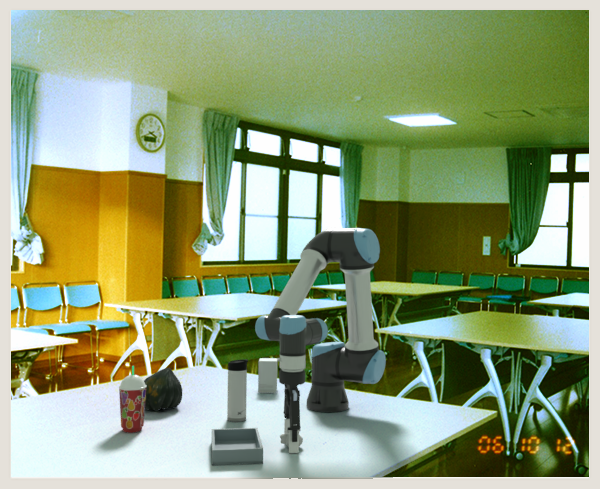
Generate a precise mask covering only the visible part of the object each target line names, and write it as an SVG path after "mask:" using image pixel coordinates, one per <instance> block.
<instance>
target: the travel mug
mask: <svg viewBox="0 0 600 489" xmlns="http://www.w3.org/2000/svg"><path fill="white" fill-rule="evenodd" d="M248 363H249V359H246V358H245V359H235V360H231V361H228V363H227V364H228V366H227V404H226V405H227V411H226V412H227V416H226V418H227V420H228V422H232V423H233V422H234V423H241V422H245V421H246V420H247V390H248V389H247V388H248V386H247V384H248V383H247V381H248V379H247V378H248V377H247V375H248V372H247V371H248V369H247V367H248V365H247V364H248Z"/></svg>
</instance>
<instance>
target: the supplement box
mask: <svg viewBox="0 0 600 489" xmlns="http://www.w3.org/2000/svg"><path fill="white" fill-rule="evenodd" d="M277 359H278V357H277V358H275V357H272V358H271V357H270V358H269V357H262V358H261V357H260V358H259V359H258V374H257V375H258V379H257V380H258V381H257V384H258V385H257V387H258V388H257V393H258V394H277V390H278V361H277Z"/></svg>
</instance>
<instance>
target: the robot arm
mask: <svg viewBox="0 0 600 489" xmlns="http://www.w3.org/2000/svg"><path fill="white" fill-rule="evenodd" d="M380 247H381V246H380V242H379V239H378V237H377V235H376V233H375V232H374V231H373V230H372V229H370V228H362V227H349V228H348V227H347V228H346V227H345V228H343V227H342V228H336V227H334V228H332V227H331V228H327V229H324V230H323V231H321V232H319V233H317V234H316V235H314V237H313V238H311V240H309V241H308V243H306V245H305V246H304V248H303V249H302V251H301V253H300V261H299V262H298V264H297V266H296V268H295V269H294V271H293V273H292V274H291V276H290V278H289V280H288V281H287V283H286V285H285V287H284V288H283V290H282V291H281V293H280V295H279V297H278V299H277V301H276V302H275V304H274V306H273V308H272V309H271V311H270V312H269V314H268V315H267V314H266V315H265V314H264V315H261V316H259V317H258V318H257V320H256V321H255V326H254V328H255V329H254V330H255V333H256V336H257V337H258V338H259V339H261V340H265V341H270V342H272V341H273V342H275V341H276V342H279V357H277V362H279V368H280V370H279V372H278V381H279V383H280V384H281V385H284V389H283V390H284V399H283V400H284V402H283V417H284V424H283V425H284V427H283V428H284V430H283V434H286V435H287V434H289V447H288V453H289V454H299V452H300V451H299V450H300V448H299V447H300V446H299V435H300V431H301V413H300V412H301V409H300V408H301V407H300V403H301V402H300V401H301V400H300V396H301V392H300V390H299V388H298V386H299V385H300V386H301V385H303V384H305V383H306V370H305V369H306V367H307V366H306V364H307V363H306V360H307V359H306V358H307V357H306V356H307V355H306V350H307V349H306V346H311V345H314V346H312V350H311V386H310V389H309V391H308V395H307V399H306V408H307V410H308V409H309V410H311V411H315V412H321V413H322V412H323V413H338V412H344V411H347V410H348V409H349V398H348V395H347V392H346V389H345V381H346V382H352V383H353V382H354V383H358V384H359V383H360V384H371V385H374V384H378V382H379V381H380V380H381V379H382V377H383V375H384V372H385V368H386V363H387V361H386V354H385V352H384V351H383V350H381V349H379V342H378V341H377V340H376V339H374V324H373V322H374V321H373V306H372V304H373V303H372V290H371V289H372V288H371V287H372V286H371V271H372V270H373V269H374V268H375V263H377V262H378V260H379V258H380V253H381V248H380ZM329 263H339V270H340V271H342V272H343V273H344V282H345V283H344V284H345V297H346V298H345V300H346V301H345V302H346V316H347V330H348V331H347V332H348V333H347V334H348V341H347V342H346V343H345V342H342V341H331V342H323V341H324V340H325V339H326V338H327V336H328V334H329V332H328V331H329V328H328V326H327V325H328V324H327V323H326V322H325V320H323V319H321V318H318V317H316V318H315V317H314V318H313V317H311V318H306V317H305V316H304V315H300V314H298V312H299V311H300V308H301V307H302V305H303V304H304V303H303V302H304V301H305V299H306V298H307V296H308V293H309V292H310V290H311V288H312V286H313V284H314V283H315V281H316V279H317V277H318V275H319V274H320V272H321V271H322V270H324V269H326V267H327V265H328V264H329ZM321 342H322V343H321ZM289 426H290V428H288V427H289ZM287 430H289V433H288V432H287ZM299 430H300V431H299Z"/></svg>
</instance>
